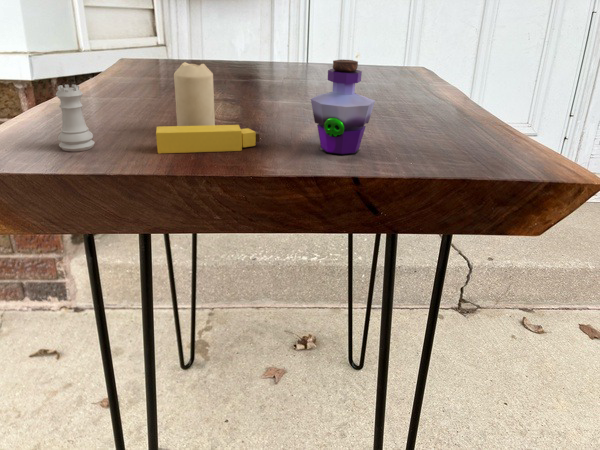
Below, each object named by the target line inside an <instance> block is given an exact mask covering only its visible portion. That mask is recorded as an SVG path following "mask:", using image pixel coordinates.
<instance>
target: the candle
mask: <svg viewBox="0 0 600 450" xmlns="http://www.w3.org/2000/svg"><path fill="white" fill-rule="evenodd" d="M173 82H174V98H175V99H174V100H175V112H176V126H206V125H216V119H215V94H214V93H215V92H214V91H215V90H214V89H215V88H214V73H213V71H212V70H210V69H209V68H208V67H207V65H206V64H205V63H201V64H195V63H188V62H185V61H184V62H182V63H181V64H180V66H178V68H177V69H176V70H175V72H174V73H173Z"/></svg>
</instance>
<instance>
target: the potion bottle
mask: <svg viewBox="0 0 600 450" xmlns="http://www.w3.org/2000/svg"><path fill="white" fill-rule="evenodd" d="M358 66H359V61H358V60H353V59H335V60H332V68H330V69H328V70H327V81H328V82H331V83H332V91H329V92H325V93H319V94H317V95H316V96H314V97H311V98H310V104H311V109H312V114H313V119H314V124H317V125H316V126H317V133H318V138H319V143H320V148H319V151H321V152H323V153H325V154H326V155H333V156H339V157H340V156H342V157H344V156H351V155H352V156H354V155H356V154H358V153H359V152H360V147H361V143H362V140H363V137H364V132H365V130H366V124H369V123H370V122H369V121H370V119H371V115H372V112H373V110H374V106H375V103H376V100H375V99H372V98H370V97H367V96H364V95H362V94H359V93H355V91H356V84H359V83H360V82H362V74H363V73H362V72H363V71H362V70H359V69H358Z"/></svg>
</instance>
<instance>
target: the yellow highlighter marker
mask: <svg viewBox="0 0 600 450" xmlns="http://www.w3.org/2000/svg"><path fill="white" fill-rule="evenodd" d="M155 139H156V148H157V154H160V155H161V154H187V153H190V154H191V153H217V152H242V151H243V148H251V147H256V143H260V132H259V131H255V130H252V129H251V128H249V127H245V128H241V127H240V124H215V125H206V126H177V125H172V126H171V125H170V126H169V125H168V126H167V125H166V126H163V125H161V126H156V130H155Z"/></svg>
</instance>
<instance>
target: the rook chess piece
mask: <svg viewBox="0 0 600 450" xmlns="http://www.w3.org/2000/svg"><path fill="white" fill-rule="evenodd" d="M63 85H64V86H63ZM63 85H61V84H60V85H58V86H57V91H56V93H55V96H56V97H57V99H59V101H60V104H59V108H60V110H61V113H62V114H61V121H62V123H61V129H60V133H59V134H58V137H57V139H58V141H60V142H59V144H58V146H59V148H60V149H61V150H63V151H65V152H70V153H71V152H74V153H75V152H77V153H78V152H83V151H88V150H90V149H92V148H93V147H94V145H95V143H96V142H95V141H94V140H92V139H93V138H94V134H93V133H92V132H91V130H89V129H90V128H89V127H88V126H87V124H86V121H85V117H84V114H83V106H84V105H83V104H82V102H81V98H82V96H83V95H84V93H83V92H82V90H81V89H80V85H78V84H71V87H70V85H69V84H63Z"/></svg>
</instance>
